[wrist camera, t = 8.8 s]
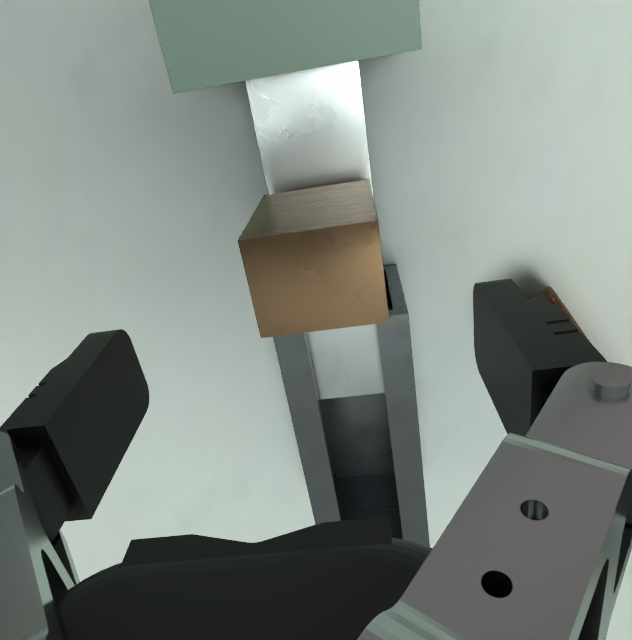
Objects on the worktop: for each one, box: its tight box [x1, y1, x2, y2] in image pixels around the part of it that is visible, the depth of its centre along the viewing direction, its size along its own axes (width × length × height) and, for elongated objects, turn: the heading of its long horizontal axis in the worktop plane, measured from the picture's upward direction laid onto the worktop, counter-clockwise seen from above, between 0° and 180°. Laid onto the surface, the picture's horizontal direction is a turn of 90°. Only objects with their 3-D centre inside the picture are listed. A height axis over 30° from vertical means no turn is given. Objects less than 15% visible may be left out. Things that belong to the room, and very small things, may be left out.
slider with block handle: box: [238, 61, 389, 400], centre depth 20 cm, size 4×18×11 cm, turn 9°
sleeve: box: [273, 264, 430, 547], centre depth 28 cm, size 6×15×6 cm, turn 9°
